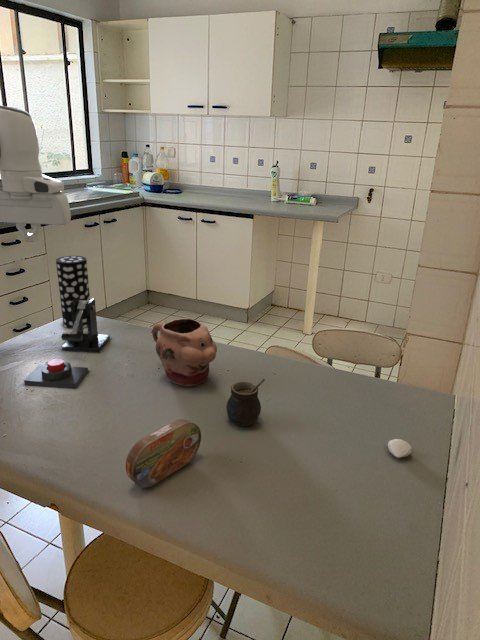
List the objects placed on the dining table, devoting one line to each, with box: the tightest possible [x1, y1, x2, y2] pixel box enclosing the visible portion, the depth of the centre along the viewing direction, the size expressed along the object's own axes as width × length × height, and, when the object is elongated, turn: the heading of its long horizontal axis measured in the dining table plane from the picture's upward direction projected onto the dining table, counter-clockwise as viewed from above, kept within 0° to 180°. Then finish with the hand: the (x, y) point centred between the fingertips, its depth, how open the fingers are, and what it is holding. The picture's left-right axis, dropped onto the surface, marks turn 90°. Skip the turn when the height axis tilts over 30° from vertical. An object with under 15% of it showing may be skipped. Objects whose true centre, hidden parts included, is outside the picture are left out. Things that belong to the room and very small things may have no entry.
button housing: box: [23, 360, 89, 389], centre depth 109 cm, size 12×8×3 cm, turn 87°
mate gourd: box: [225, 378, 266, 427], centre depth 95 cm, size 7×8×10 cm
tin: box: [125, 418, 202, 489], centre depth 80 cm, size 15×3×8 cm, turn 137°
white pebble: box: [387, 438, 412, 459], centre depth 88 cm, size 4×5×2 cm
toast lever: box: [60, 300, 88, 342], centre depth 121 cm, size 12×5×2 cm
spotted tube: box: [55, 255, 91, 329], centre depth 137 cm, size 8×8×20 cm
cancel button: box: [46, 358, 65, 372], centre depth 109 cm, size 4×4×2 cm
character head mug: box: [151, 317, 218, 387], centre depth 111 cm, size 20×12×14 cm, turn 58°
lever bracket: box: [61, 297, 111, 354], centre depth 125 cm, size 9×10×13 cm
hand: (30, 241), depth 113 cm, fingers closed
